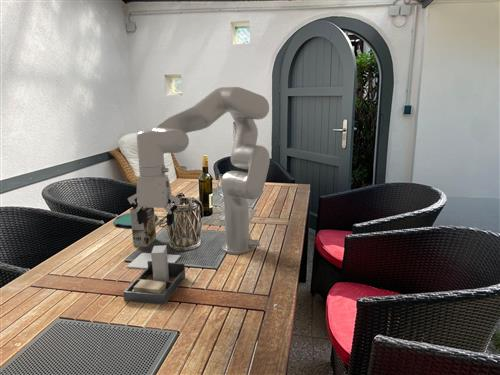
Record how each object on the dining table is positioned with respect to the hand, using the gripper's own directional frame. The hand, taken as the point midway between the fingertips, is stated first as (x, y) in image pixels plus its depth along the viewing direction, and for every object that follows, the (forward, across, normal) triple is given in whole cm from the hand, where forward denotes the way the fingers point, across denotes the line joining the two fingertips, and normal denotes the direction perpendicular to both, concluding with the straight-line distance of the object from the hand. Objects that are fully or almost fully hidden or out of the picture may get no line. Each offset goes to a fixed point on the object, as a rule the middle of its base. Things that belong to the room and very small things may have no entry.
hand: (155, 223), depth 117 cm
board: (+20, +9, -15) cm, 27 cm away
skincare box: (+21, 0, -1) cm, 21 cm away
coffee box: (+21, +21, -32) cm, 43 cm away
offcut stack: (+21, 0, +8) cm, 23 cm away
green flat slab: (+21, +33, -56) cm, 68 cm away
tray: (+21, 0, +3) cm, 21 cm away
